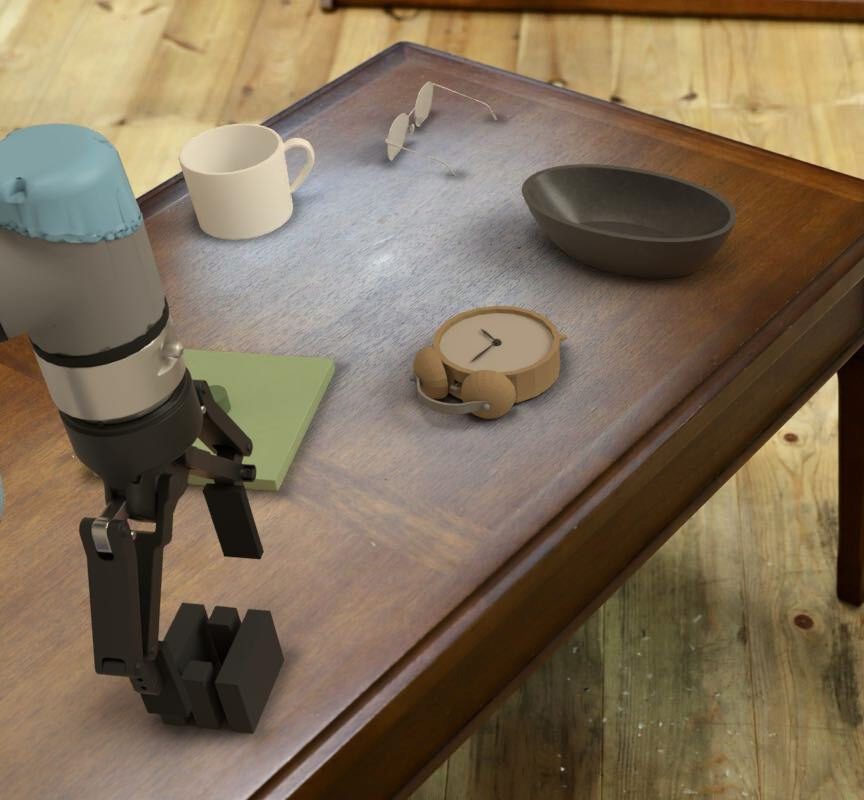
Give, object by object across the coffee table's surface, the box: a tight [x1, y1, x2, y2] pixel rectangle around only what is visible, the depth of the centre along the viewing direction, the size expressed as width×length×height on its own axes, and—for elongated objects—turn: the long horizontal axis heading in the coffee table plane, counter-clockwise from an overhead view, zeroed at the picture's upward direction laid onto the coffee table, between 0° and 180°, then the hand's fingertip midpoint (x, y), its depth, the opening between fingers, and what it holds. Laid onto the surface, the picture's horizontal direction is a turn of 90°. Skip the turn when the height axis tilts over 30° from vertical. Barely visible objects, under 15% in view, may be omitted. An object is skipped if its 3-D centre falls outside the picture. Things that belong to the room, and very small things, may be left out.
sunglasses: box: [385, 81, 498, 177], centre depth 154 cm, size 14×8×5 cm, turn 163°
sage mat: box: [91, 348, 336, 492], centre depth 118 cm, size 16×16×3 cm
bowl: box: [521, 163, 738, 279], centre depth 135 cm, size 12×22×6 cm, turn 65°
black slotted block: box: [159, 602, 285, 734], centre depth 95 cm, size 6×6×6 cm
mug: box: [178, 123, 316, 241], centre depth 143 cm, size 13×10×8 cm
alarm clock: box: [409, 305, 568, 420], centre depth 121 cm, size 11×5×15 cm
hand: (209, 628), depth 93 cm, fingers open, 13 cm apart
